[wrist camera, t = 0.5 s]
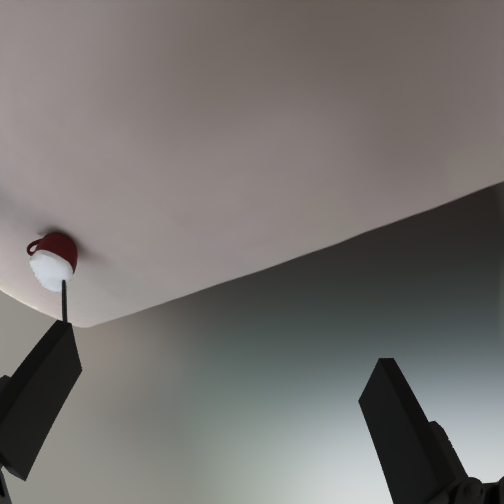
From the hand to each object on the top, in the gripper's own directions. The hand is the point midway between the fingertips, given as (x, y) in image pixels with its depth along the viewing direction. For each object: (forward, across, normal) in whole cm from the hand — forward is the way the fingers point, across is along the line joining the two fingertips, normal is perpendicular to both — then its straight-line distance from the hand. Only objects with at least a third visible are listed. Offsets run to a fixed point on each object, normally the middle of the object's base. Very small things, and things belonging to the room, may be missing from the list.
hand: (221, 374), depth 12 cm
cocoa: (+25, -22, -6) cm, 34 cm away
